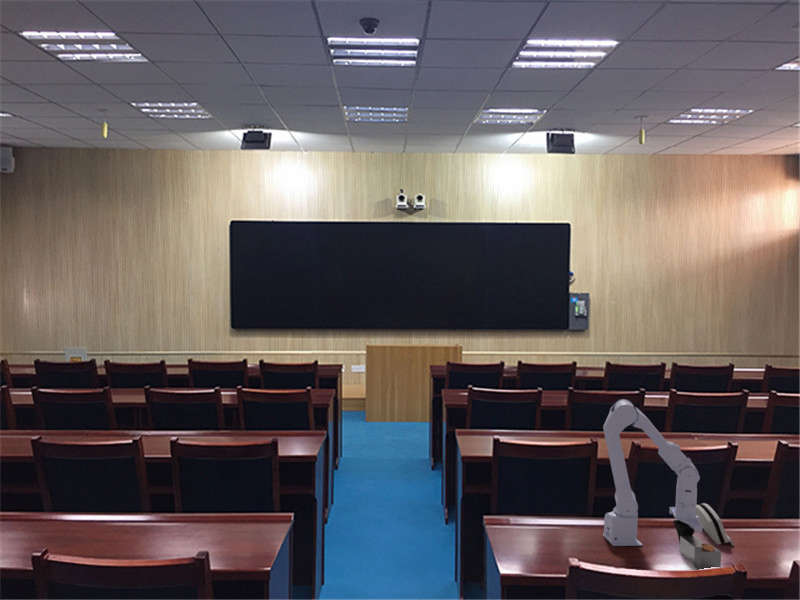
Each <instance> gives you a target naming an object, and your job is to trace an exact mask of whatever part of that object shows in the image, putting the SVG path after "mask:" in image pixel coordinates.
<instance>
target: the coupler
mask: <svg viewBox="0 0 800 600" xmlns="http://www.w3.org/2000/svg"><path fill="white" fill-rule="evenodd" d="M721 561H722V551H721V550H719V548H717V547H715V546H714V545H713V544H710V543H706V542H704V543H703V544H702V547H695V557H694V564H693V566H694V567H695V568H696V569H698V570H699V569H704V568H711V567H720V568H721V565H722V562H721Z"/></svg>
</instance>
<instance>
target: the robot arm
mask: <svg viewBox="0 0 800 600" xmlns="http://www.w3.org/2000/svg"><path fill="white" fill-rule="evenodd" d="M631 425H632V427H634V428H638V429H641V430H642V431H643V432H644V433H645V435H647V436H648V438H650V440H652V442H653V443H654V444H655V445H656V446H657V448H658V452H657V453H658V455H659V457H660V458H661V459H662V460H663V461H664V462H665V463H666V464H667V466H669V467H670V469H671V470H672V471H673V472H675V474H676V475H677V478H676V479H677V480H676V487H675V488H676V490H675V506H669V514H670V515H673V517H674V520H673V521H672V524H673V525H674V528H675V529H676V533H677V538H678V542H679V544H680V536H694V534H695V533H703V528H702V525H701V524H700V523H699V521H698V520H697V519H699V517H698V516H697V515H696V505H697V502H698V501H697V498H698V487H697V485H698V482H699V481H700V478H701V476H700V474H699V473H700V472H699V471H698V469H697V468H696V465H694V463H693V462H692V459H691V458H690V457H687V455H685V454H684V453H683V452H682V451H681V447H680V445H679V444H676V443H675V442H673V441H667V439H665V438H664V436H663V435H662V433H661V432H660V431H659V430H658V429H657V428H656V427H655V425H653V423H652V421H651V420H650V419H649V417H647V416H646V415H645V414H644V413H643V412H642V411H641V410H640V409H639V408H638V407H635V405H634V403H632V402H631V401H630V400H628V399H624V398H623V399H619V400H617V401H616V402H615V403H614V404H613V405H612V406H611V407H610V408H609V413H608V415H607V417H606V420H605V422H604V424H603V434H604V439H605V443H606V449H607V453H608V457H609V458H608V459H609V461H610V467H611V472H612V476H613V482H614V488H615V493H614V500H615V504H616V505H615V507H613V510H612V511H610V512H606V513H605V514H604V519H603V520H604V521H603V522H604V523H603V534H602V536H603V537H604V539H606V540H607V541H608V542H609V543H610V545H611V546H614V547H627V546H628V547H630V546H631V547H641V546H643V543H642V542H641V541H640V540H638V520H639V519H638V518H639V515H638V514H639V513H638V510H639V504H638V502H637V499H636V494H635V493H634V491H633V490H632V488H631V484H630V479H629V475H628V469H627V465H626V464H627V463H626V460H625V455H624V451H623V445H622V442H621V436H620V434H621V433H622V432H623V431H624V430H625V429H626V428H627V427H628V426H631ZM675 519H676V520H675Z"/></svg>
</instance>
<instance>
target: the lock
mask: <svg viewBox="0 0 800 600" xmlns="http://www.w3.org/2000/svg"><path fill="white" fill-rule="evenodd" d="M703 543H705V542H704V541H703V540H702V539H700V538H699V537H697V535H692V536H680V543H679V553H680V554H681V555H682V556H683V557H685V558H686V559H687V560H688V561H690V563H692V564H693V565H694V557H695V547H702V544H703Z"/></svg>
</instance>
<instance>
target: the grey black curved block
mask: <svg viewBox="0 0 800 600" xmlns="http://www.w3.org/2000/svg"><path fill="white" fill-rule="evenodd" d="M696 515H697V516H698V517H699V519H697V520H698V521H699V523H700V524H701V525H702V530H704V531H705V533H706V534H707V535H708V536H709V537H710V538H711V539H712V540H713V542H714V543H715V544H716V545H722V542H723V543H725V544H726V543H727V544H728V543H729V544H730V545H731V546H734V543H733V542H734V541H733V540H732V539H731V537H729V535H728V534H727V533H726V530H725V527H724V525H723V522H722V520H721V518H720V517H719V515H718V514H717V513H716V511H715V510H714V509H713V508H712V507H711V506H710V505H709V504H707V503H704V502H703V503H700V504H696Z"/></svg>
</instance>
